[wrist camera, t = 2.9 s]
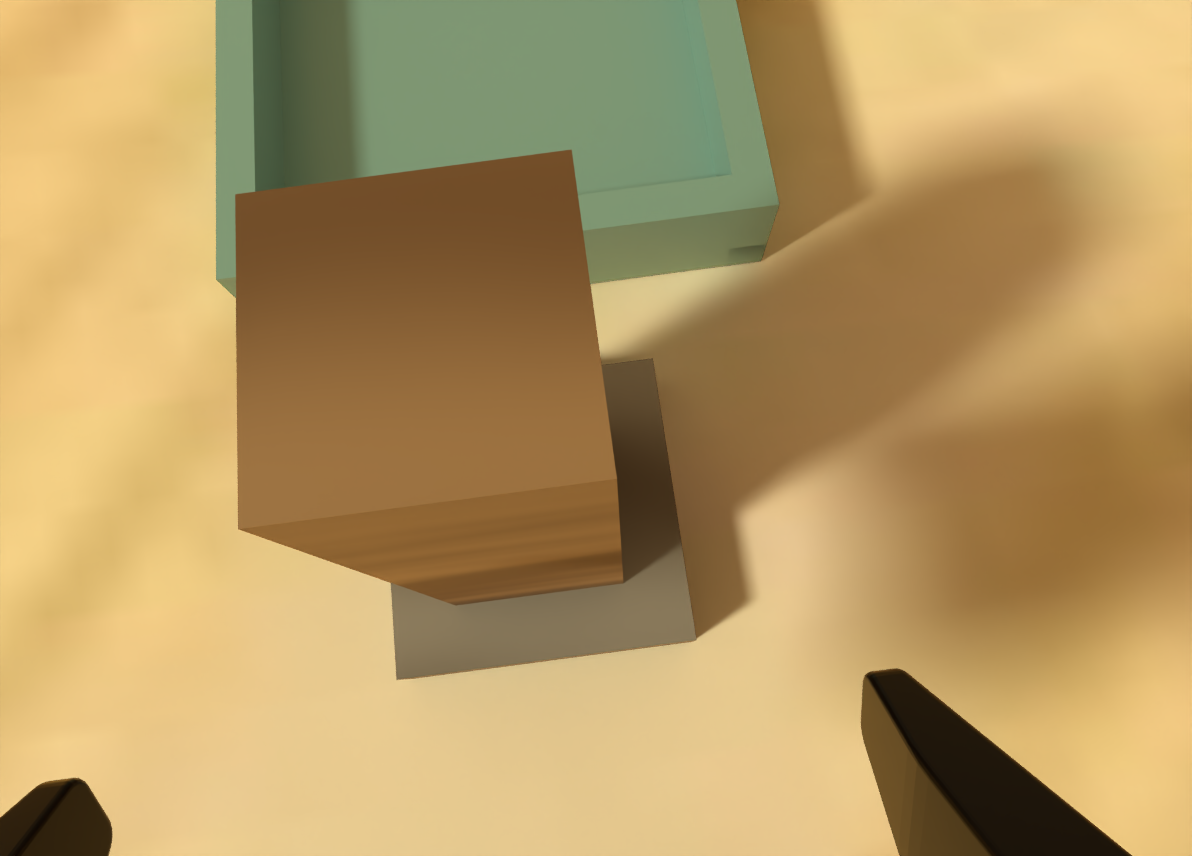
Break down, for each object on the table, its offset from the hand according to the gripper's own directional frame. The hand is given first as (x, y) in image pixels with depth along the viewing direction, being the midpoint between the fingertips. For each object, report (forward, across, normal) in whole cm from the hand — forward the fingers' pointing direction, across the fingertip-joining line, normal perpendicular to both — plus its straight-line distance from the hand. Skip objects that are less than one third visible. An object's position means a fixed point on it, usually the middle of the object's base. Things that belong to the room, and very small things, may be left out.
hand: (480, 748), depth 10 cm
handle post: (+11, 0, +5) cm, 12 cm away
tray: (+21, 0, -5) cm, 21 cm away
